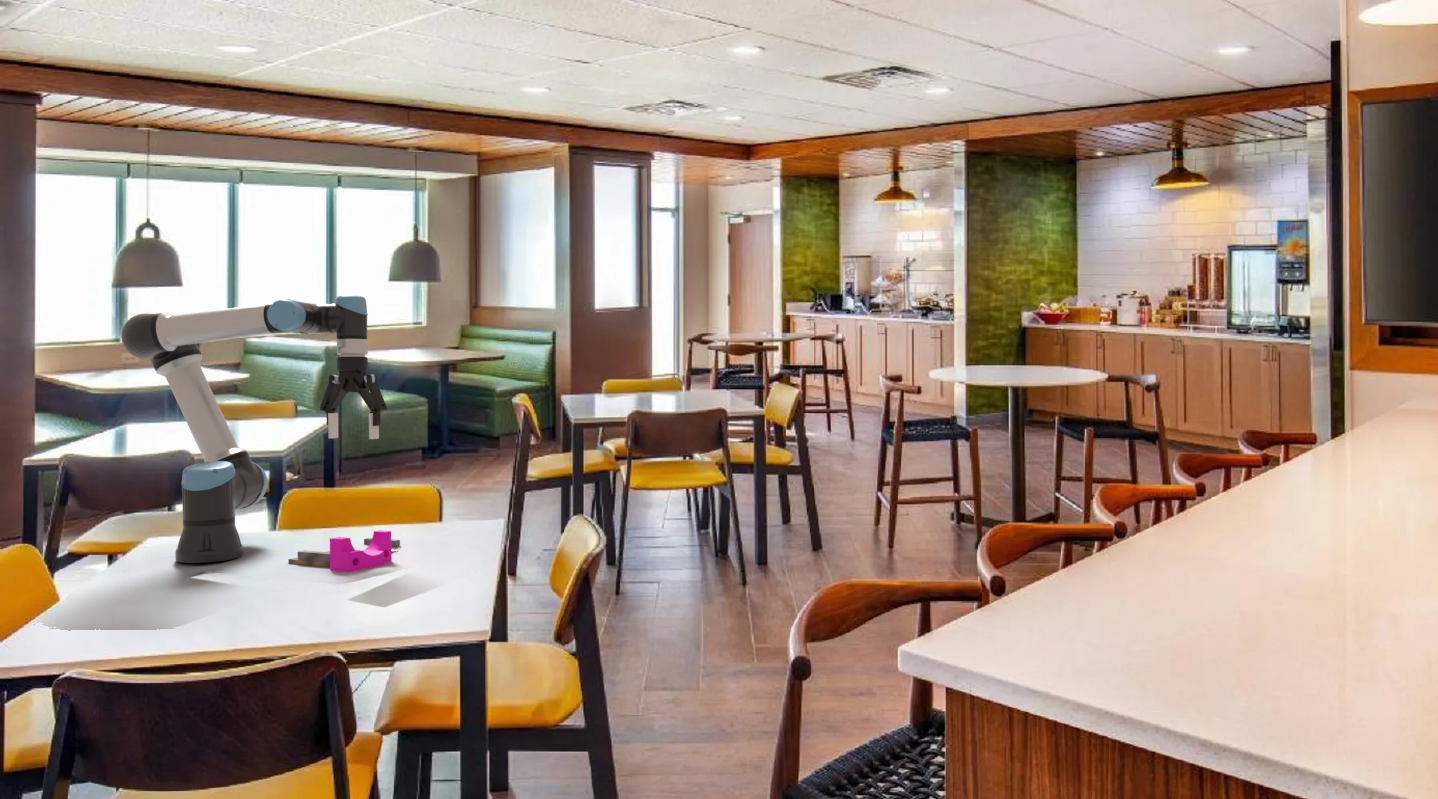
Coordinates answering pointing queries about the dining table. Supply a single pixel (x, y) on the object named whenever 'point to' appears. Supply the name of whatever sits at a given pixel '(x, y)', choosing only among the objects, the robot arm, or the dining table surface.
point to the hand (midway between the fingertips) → (353, 438)
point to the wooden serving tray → (325, 555)
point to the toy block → (360, 553)
